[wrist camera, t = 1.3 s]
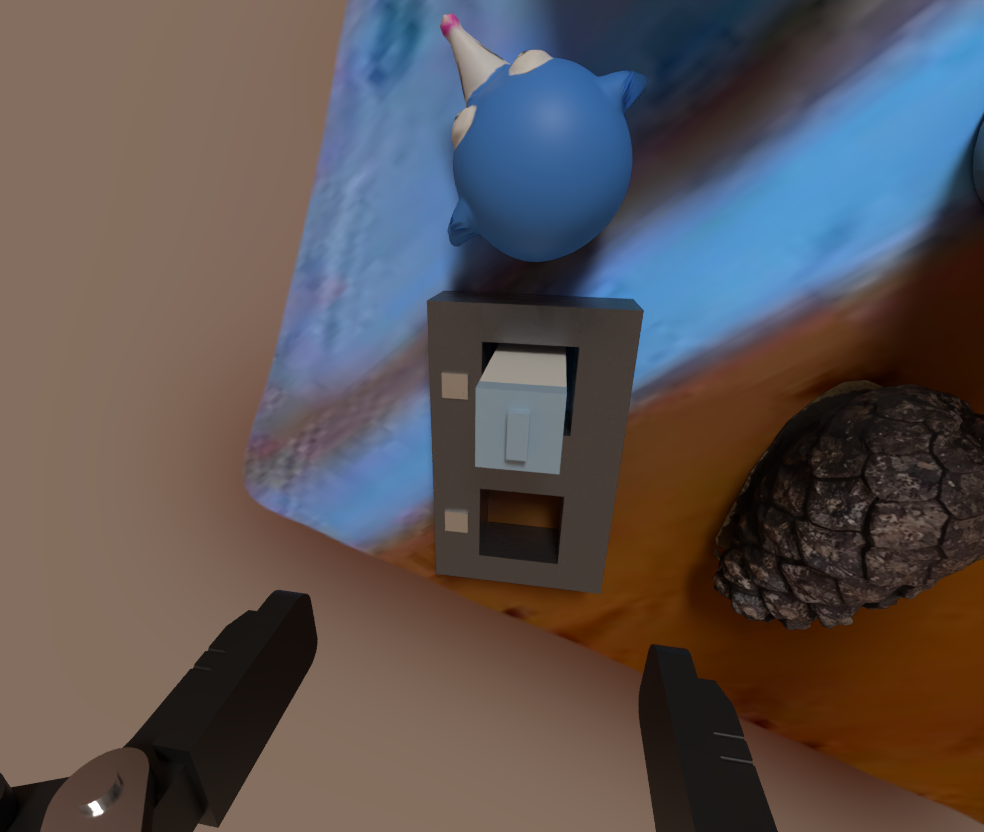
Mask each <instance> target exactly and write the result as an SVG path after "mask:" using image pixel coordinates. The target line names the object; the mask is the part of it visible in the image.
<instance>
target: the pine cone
mask: <svg viewBox="0 0 984 832" xmlns="http://www.w3.org/2000/svg"><path fill="white" fill-rule="evenodd" d="M733 510H734V511H735V512H732V511H733ZM731 512H732V513H731ZM729 513H730V514H729ZM729 513H728V515H727V517H726V520H725V522H724V523H723V525H722V527H721V529H720V530H719V532H718V534H717V536H716V544H717V546H720V547H722V548H725V549H727V550H725V551H724V552H722V553H721V555H720V556H719V551H718V549H717V548H716V549H715V550H714V553H713V555H714V557H715V558H717V559H719V560H720V562H719V567H718V571H717V572H716V573H715V575H714V576H713V577H712V579H713V580H714V582H715V585H714V589H715V590H716V591H717V592H719V593H720V594H721V595H723V596H725V597H726V598H728V599H731V605H732V607H733V609H734V611H735V612H736V613H738V614H740V615H743V616H745V618H746V619H747V620H753V621H765V622H771V621H772V620H774V619H775V618H777V619H778V620H779V621H780V622H782V623H783V625H784V627H785V628H787V629H788V630H794V629H799V630H803V629H807V628H809V627H810V626H811V625H812V624H811V622H813V621H814V620H815V619H816V618H818V619H819V621H820V622H821V624H822V626H823V627H826V628H829V629H830V628H832V627H834V626H837V625H840V624H842V625H851V624H852V623H853V620H852V616H853V615H854V614H855V612H857V611H858V610H859V609H860V608H861V607H862V606H863V607H865V608H867V609H885V608H888V607H889V605H895V604H896V603H897V599H899V598H901V597H903V598H905V599H911V598H914V597H915V596H916V595H918V594H919V593H920V592H921V591H926V590H929V589H930V588H931V587H933V586H934V585H935V584H936V582H937V581H939V580H940V579H941V578H943V577H945V576H948V575H951V574H953V573H954V572H957V571H960V570H963V569H964V568H965V567H966V566H967V565H971V564H972V563H974V562H975V561H977V560H981V559H982V558H984V415H983V414H976V413H973V411H972V409H971V407H970V405H969V403H968V402H966V401H963V400H960V398H959V397H956V396H954V395H951V394H947V393H942V392H938V391H934V390H930V389H926V388H923V387H921V386H919V385H917V384H907V385H899V386H894V387H883V386H881V385H878V384H875V383H873V382H870V381H867V380H863V381H849V382H843V383H841V384H839V385H838V386H836V387H834V388H832V389H830V390H828V391H826V392H825V393H823V394H821V395H820V396H818V397H817V398H816V399H815V400H813V401H812V402H811V403H810V404H809V405H807V406H806V407H805V408H804V409H802V410H801V411H800V412H799V413H798V414H796V415H795V416H794V417H793V418H792V419H791V420H790V421H789V422H788V423H787V425H786V426H785V427H784V428H783V430H782V431H781V432H780V433H779V435H778V436H777V438H776V440H775V441H774V443H773V444H772V445H771V446H770V447H769V449H768V450H767V451H766V452H765V453H764V455H763V456H762V457H761V459H760V460H759V461H758V463H757V464H756V465H755V467H754V468H753V470H752V471H751V472H750V474H749V476H748V478H747V480H746V482H745V484H744V486H743V488H742V490H741V492H740V494H739V496H738V497H737V499H736V501H735V502H734V504H733V506H732V508H731V510H730V511H729Z"/></svg>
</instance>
